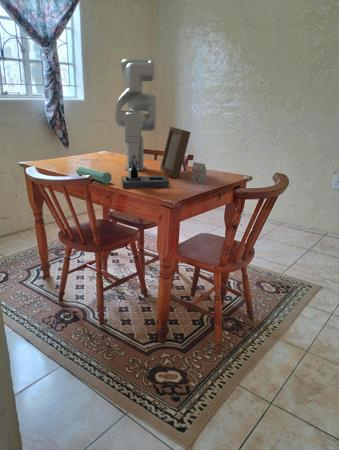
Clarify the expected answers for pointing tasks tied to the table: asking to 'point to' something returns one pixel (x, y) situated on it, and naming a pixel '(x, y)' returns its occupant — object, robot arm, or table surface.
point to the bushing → (130, 175)
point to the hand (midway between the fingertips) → (133, 176)
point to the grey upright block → (198, 173)
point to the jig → (146, 182)
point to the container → (95, 174)
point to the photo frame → (175, 152)
